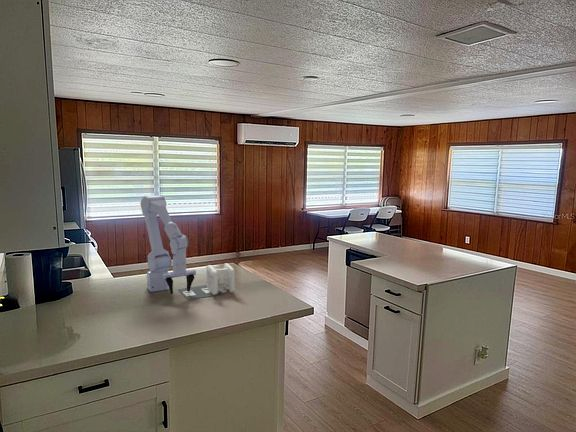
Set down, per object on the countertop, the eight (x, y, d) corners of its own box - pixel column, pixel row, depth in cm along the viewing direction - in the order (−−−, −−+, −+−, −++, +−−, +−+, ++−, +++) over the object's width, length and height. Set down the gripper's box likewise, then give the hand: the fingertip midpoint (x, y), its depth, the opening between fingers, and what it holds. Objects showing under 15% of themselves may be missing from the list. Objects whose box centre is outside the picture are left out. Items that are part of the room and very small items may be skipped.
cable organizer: (235, 294, 180) (235, 270, 179) (212, 297, 176) (212, 272, 174) (226, 285, 194) (227, 262, 192) (205, 287, 190) (205, 263, 188)
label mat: (188, 300, 173) (188, 299, 173) (177, 289, 186) (177, 289, 186) (224, 294, 181) (224, 293, 181) (211, 284, 195) (211, 284, 195)
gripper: (165, 267, 170) (166, 297, 171) (198, 263, 177) (198, 292, 179) (161, 263, 175) (162, 292, 177) (193, 259, 183) (193, 287, 185)
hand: (180, 292), depth 179 cm, fingers open, 7 cm apart
